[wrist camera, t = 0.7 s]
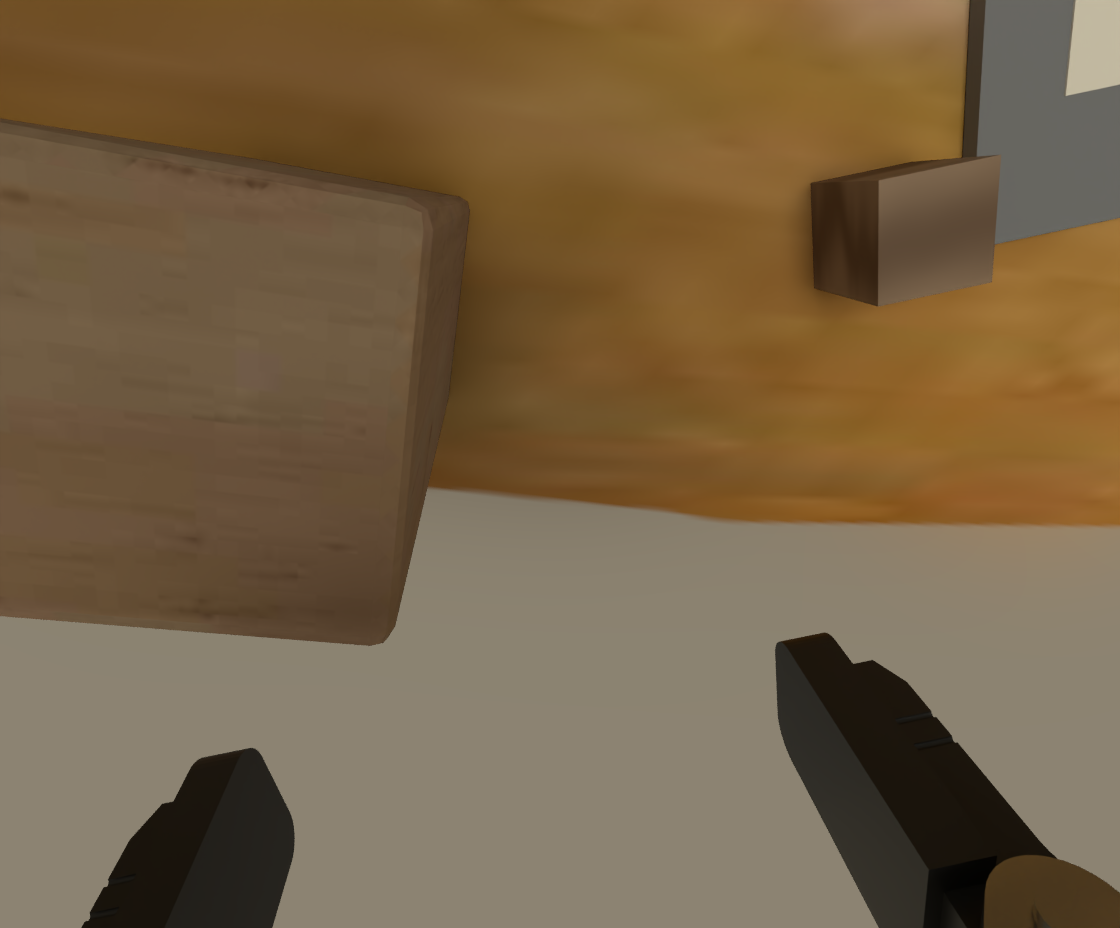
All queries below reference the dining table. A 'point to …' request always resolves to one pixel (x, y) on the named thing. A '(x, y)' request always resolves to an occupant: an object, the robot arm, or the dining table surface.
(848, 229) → the walnut block
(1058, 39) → the grey flat rectangular panel
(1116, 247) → the dining table surface
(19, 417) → the wooden block
